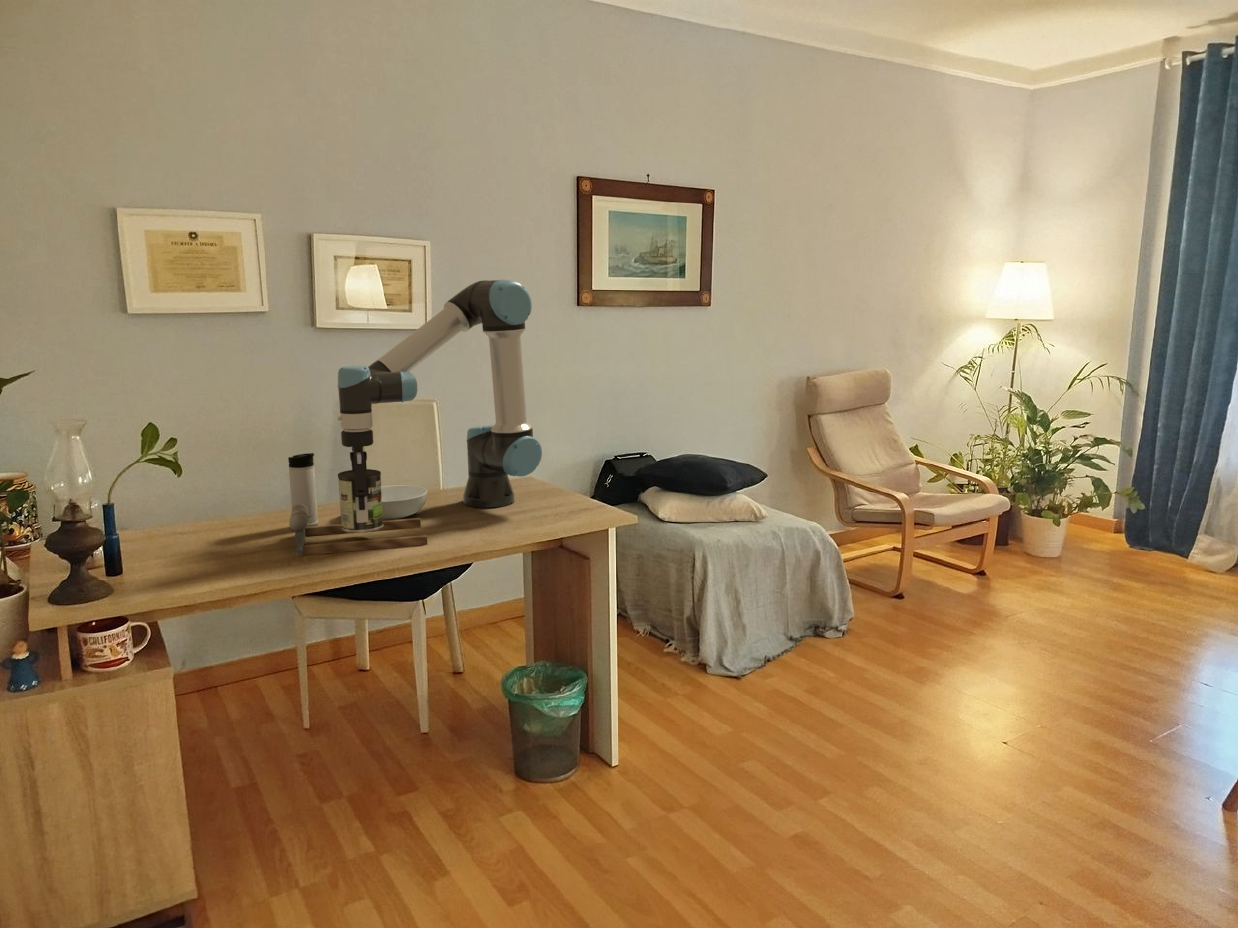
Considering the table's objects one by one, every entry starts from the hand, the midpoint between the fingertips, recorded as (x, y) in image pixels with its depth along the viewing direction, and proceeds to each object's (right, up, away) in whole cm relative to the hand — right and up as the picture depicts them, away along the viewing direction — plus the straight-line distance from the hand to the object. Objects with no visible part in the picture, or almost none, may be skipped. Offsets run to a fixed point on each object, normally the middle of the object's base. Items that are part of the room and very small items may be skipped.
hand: (361, 516), depth 214 cm
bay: (0, -6, +1) cm, 6 cm away
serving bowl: (+1, -2, +24) cm, 24 cm away
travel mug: (-19, -4, +13) cm, 23 cm away
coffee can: (0, -3, +1) cm, 3 cm away
